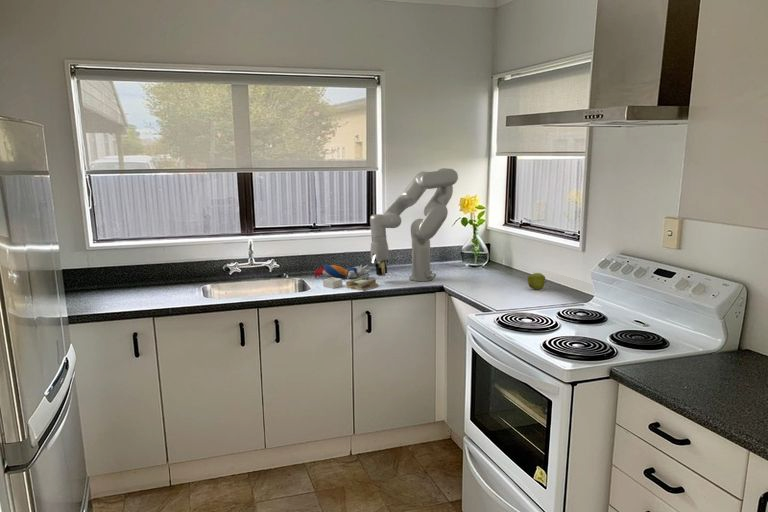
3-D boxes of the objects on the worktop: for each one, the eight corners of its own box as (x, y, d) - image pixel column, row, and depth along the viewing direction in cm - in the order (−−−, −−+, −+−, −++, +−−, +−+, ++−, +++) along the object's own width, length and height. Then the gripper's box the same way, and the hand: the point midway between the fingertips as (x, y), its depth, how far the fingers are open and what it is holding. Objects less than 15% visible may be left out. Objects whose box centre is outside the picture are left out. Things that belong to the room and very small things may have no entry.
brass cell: (386, 274, 291) (385, 260, 289) (382, 276, 288) (381, 261, 287) (381, 274, 293) (380, 259, 292) (377, 275, 290) (375, 261, 289)
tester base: (378, 285, 282) (378, 279, 282) (362, 290, 273) (362, 284, 272) (362, 283, 289) (361, 277, 288) (346, 287, 279) (346, 281, 279)
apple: (546, 291, 266) (547, 275, 265) (526, 290, 269) (527, 274, 267) (546, 288, 273) (547, 271, 272) (527, 287, 276) (528, 271, 274)
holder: (342, 285, 284) (342, 279, 283) (333, 288, 278) (333, 281, 278) (332, 284, 288) (332, 277, 287) (323, 286, 283) (323, 279, 282)
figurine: (310, 286, 291) (367, 284, 286) (308, 270, 290) (365, 267, 284) (324, 275, 317) (376, 273, 312) (322, 260, 316) (375, 258, 310)
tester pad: (368, 281, 282) (368, 280, 282) (360, 283, 277) (360, 282, 277) (361, 280, 285) (361, 279, 284) (353, 282, 280) (353, 281, 280)
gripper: (383, 235, 296) (385, 269, 299) (363, 241, 283) (366, 277, 286) (394, 236, 291) (397, 271, 295) (374, 242, 278) (377, 278, 282)
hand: (381, 273), depth 290 cm, fingers closed on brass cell, 3 cm apart
